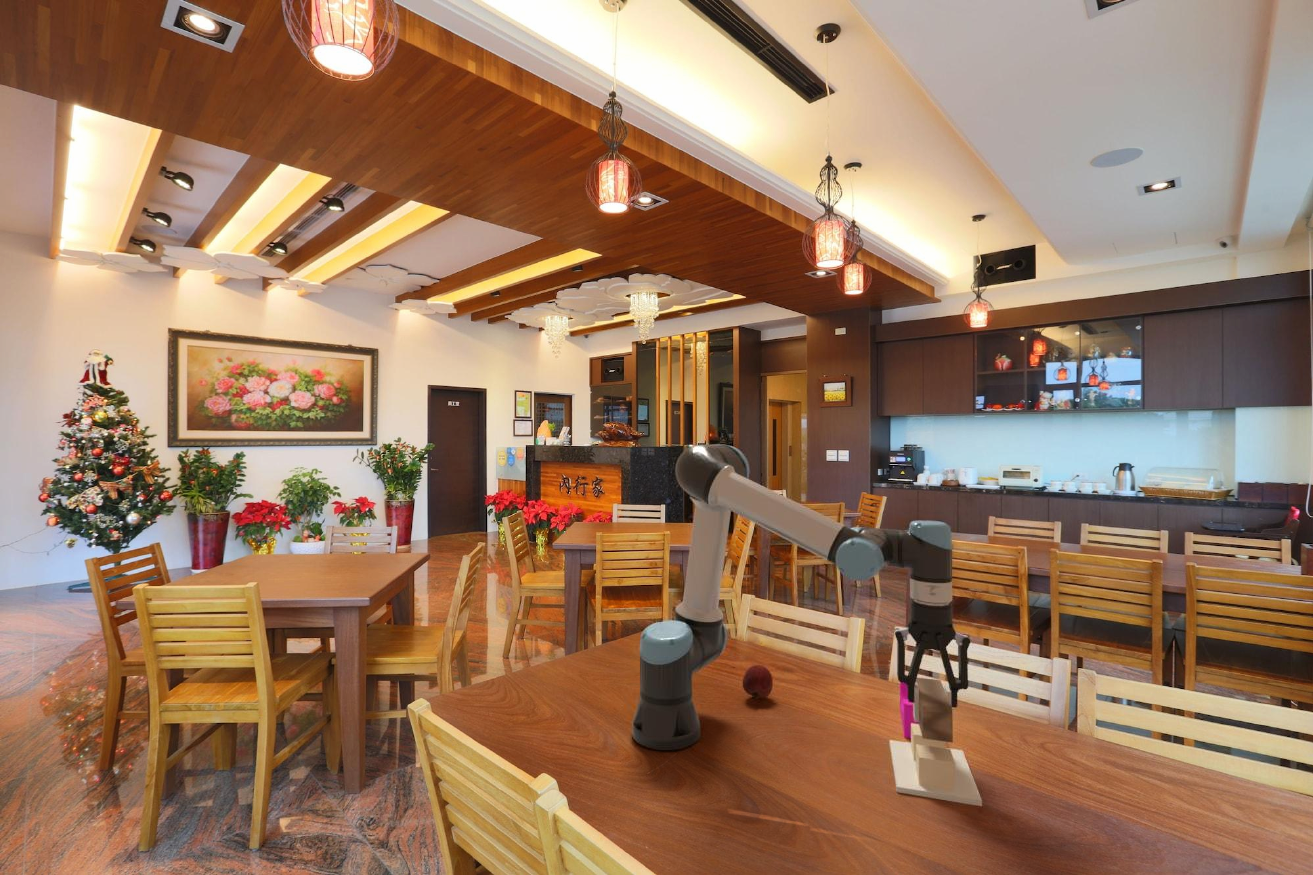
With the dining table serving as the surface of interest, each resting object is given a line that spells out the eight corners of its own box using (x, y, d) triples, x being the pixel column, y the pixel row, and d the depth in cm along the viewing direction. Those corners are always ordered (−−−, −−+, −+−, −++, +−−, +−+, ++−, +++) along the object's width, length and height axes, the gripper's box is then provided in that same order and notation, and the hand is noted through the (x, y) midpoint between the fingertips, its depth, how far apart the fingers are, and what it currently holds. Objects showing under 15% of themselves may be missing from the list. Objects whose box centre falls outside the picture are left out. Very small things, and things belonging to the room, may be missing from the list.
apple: (779, 698, 148) (779, 666, 148) (756, 706, 144) (756, 673, 144) (758, 688, 154) (758, 657, 154) (736, 695, 150) (736, 664, 150)
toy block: (935, 743, 127) (935, 708, 127) (904, 738, 129) (904, 703, 129) (928, 713, 141) (928, 681, 141) (900, 709, 143) (899, 678, 143)
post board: (896, 791, 108) (896, 759, 109) (889, 744, 126) (889, 716, 126) (982, 806, 104) (982, 772, 104) (962, 755, 121) (962, 725, 121)
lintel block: (922, 738, 109) (922, 705, 109) (914, 706, 122) (913, 677, 122) (952, 742, 107) (952, 709, 108) (940, 709, 121) (940, 680, 121)
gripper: (882, 602, 114) (883, 722, 114) (987, 609, 109) (988, 736, 109) (880, 592, 122) (881, 706, 121) (978, 599, 116) (979, 718, 116)
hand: (932, 720), depth 115 cm, fingers closed on lintel block, 5 cm apart
